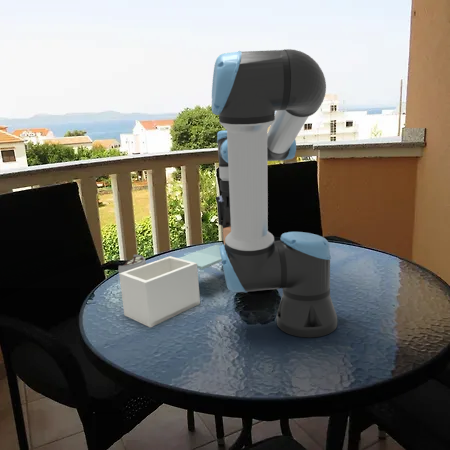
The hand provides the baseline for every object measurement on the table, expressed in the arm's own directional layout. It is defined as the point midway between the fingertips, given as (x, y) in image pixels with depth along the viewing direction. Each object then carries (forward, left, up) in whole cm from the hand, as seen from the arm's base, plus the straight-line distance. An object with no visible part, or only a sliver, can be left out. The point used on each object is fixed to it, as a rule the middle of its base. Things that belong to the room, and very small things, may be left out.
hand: (235, 246), depth 140 cm
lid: (0, +9, 0) cm, 9 cm away
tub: (-1, +33, -10) cm, 35 cm away
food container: (+18, +28, -10) cm, 35 cm away
